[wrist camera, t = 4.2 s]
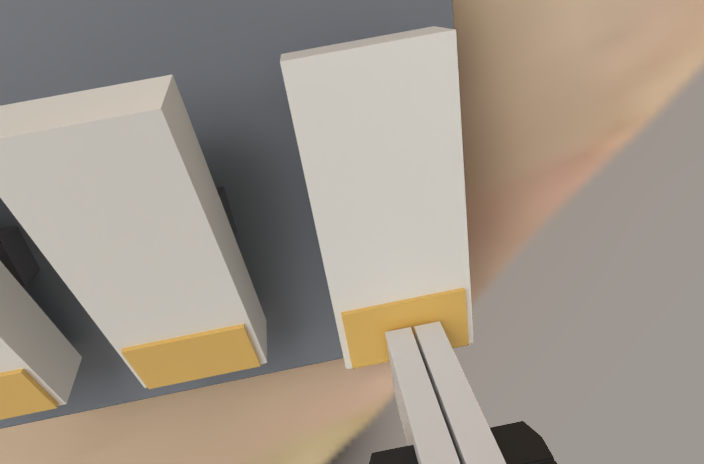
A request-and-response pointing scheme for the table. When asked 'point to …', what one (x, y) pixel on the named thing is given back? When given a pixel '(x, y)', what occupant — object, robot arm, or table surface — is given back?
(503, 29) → the table surface
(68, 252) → the rocker mid
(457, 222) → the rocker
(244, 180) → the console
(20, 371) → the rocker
